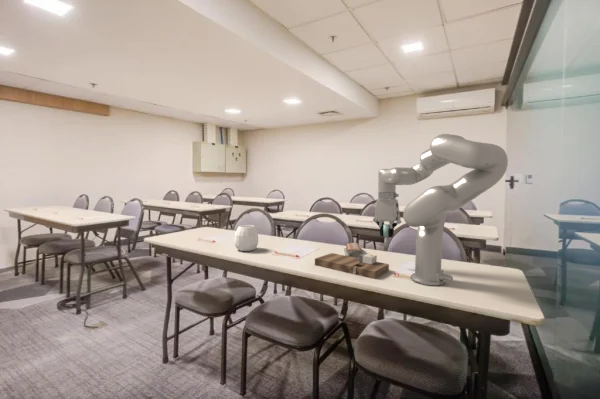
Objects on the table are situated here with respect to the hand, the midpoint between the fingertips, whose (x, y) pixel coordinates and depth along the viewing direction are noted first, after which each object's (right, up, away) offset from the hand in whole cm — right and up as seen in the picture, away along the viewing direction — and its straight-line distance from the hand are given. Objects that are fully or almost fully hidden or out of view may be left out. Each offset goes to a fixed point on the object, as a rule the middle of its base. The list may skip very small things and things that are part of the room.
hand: (386, 236), depth 138 cm
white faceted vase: (-70, -12, +32) cm, 78 cm away
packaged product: (-10, -13, +26) cm, 31 cm away
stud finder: (-9, -11, -3) cm, 15 cm away
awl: (0, -5, 0) cm, 5 cm away
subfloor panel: (-17, -14, -1) cm, 22 cm away
